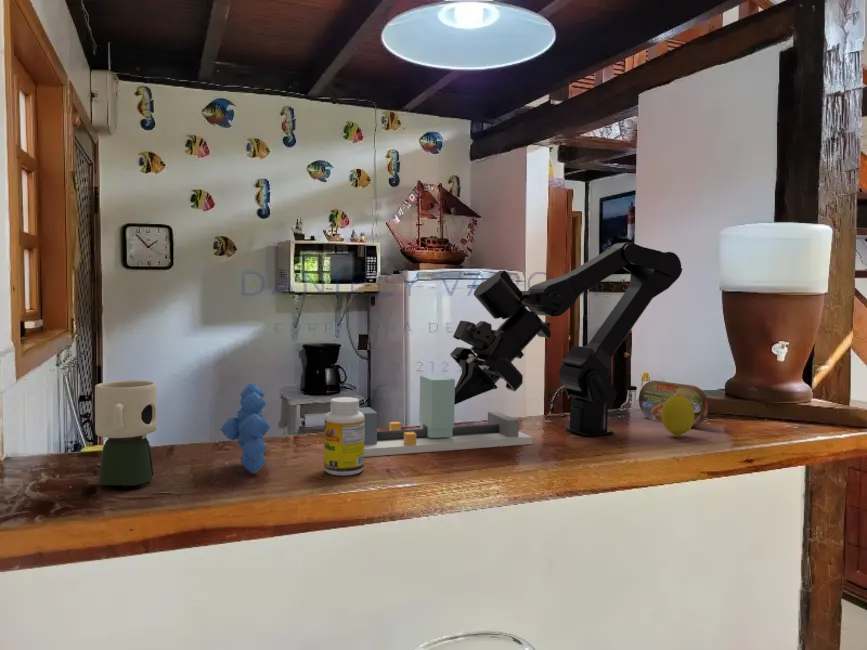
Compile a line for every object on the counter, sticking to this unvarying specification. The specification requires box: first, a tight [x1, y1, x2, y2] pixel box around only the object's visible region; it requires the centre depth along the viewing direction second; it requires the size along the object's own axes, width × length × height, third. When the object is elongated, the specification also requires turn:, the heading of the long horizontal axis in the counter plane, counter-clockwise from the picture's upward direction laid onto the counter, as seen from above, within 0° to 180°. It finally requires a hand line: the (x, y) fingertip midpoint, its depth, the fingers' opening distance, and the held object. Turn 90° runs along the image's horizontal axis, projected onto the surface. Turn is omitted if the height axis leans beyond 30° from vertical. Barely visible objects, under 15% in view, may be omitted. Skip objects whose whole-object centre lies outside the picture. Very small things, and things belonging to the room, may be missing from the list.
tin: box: [638, 380, 710, 427], centre depth 125 cm, size 15×3×8 cm, turn 32°
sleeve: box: [418, 374, 456, 438], centre depth 104 cm, size 4×6×10 cm, turn 20°
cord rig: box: [359, 406, 533, 458], centre depth 104 cm, size 30×10×6 cm, turn 110°
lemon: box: [661, 394, 694, 438], centre depth 112 cm, size 6×6×8 cm
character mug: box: [94, 380, 158, 489], centre depth 79 cm, size 11×7×13 cm, turn 15°
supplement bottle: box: [323, 396, 365, 477], centre depth 87 cm, size 6×6×10 cm
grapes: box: [219, 382, 271, 474], centre depth 86 cm, size 12×7×12 cm, turn 19°
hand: (451, 402), depth 105 cm, fingers closed
